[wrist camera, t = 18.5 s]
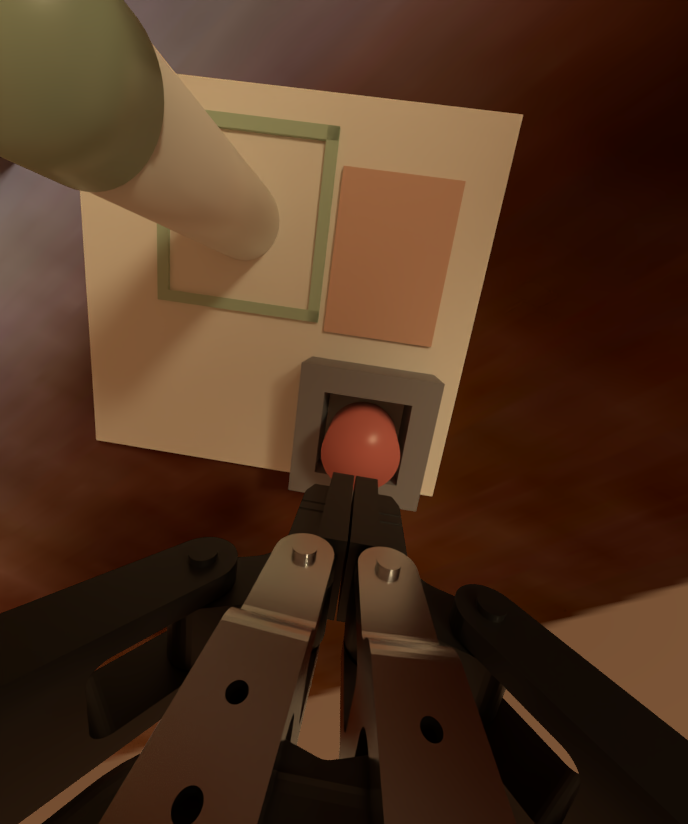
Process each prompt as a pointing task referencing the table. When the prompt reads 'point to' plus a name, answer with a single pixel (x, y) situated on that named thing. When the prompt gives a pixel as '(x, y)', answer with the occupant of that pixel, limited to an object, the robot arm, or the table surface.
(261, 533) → the table surface
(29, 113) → the marker
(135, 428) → the cream flat board
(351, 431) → the button
